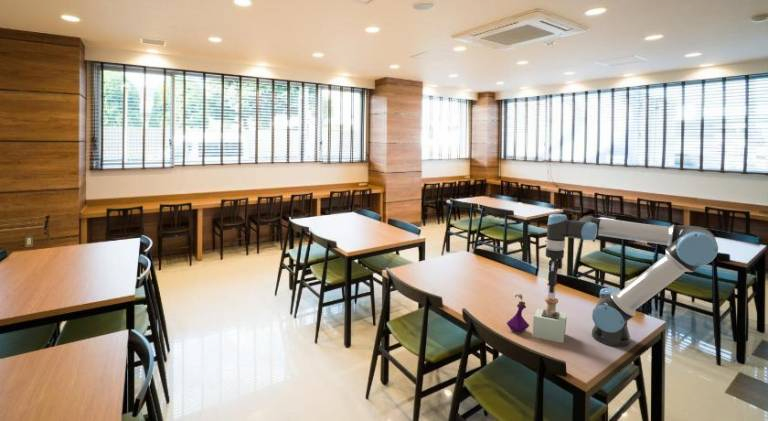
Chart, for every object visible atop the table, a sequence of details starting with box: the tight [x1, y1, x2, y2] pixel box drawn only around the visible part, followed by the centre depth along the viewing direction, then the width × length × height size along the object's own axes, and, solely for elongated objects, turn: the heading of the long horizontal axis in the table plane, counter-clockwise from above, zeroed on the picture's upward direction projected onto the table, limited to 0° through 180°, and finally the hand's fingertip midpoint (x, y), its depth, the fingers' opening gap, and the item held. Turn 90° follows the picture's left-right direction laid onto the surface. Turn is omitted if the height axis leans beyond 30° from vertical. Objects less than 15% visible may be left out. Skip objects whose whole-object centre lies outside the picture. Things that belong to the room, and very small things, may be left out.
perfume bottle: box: [506, 293, 530, 334], centre depth 188 cm, size 8×8×18 cm
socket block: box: [532, 308, 568, 344], centre depth 184 cm, size 13×10×11 cm
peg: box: [544, 296, 559, 317], centre depth 183 cm, size 6×6×10 cm
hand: (551, 298), depth 182 cm, fingers closed
